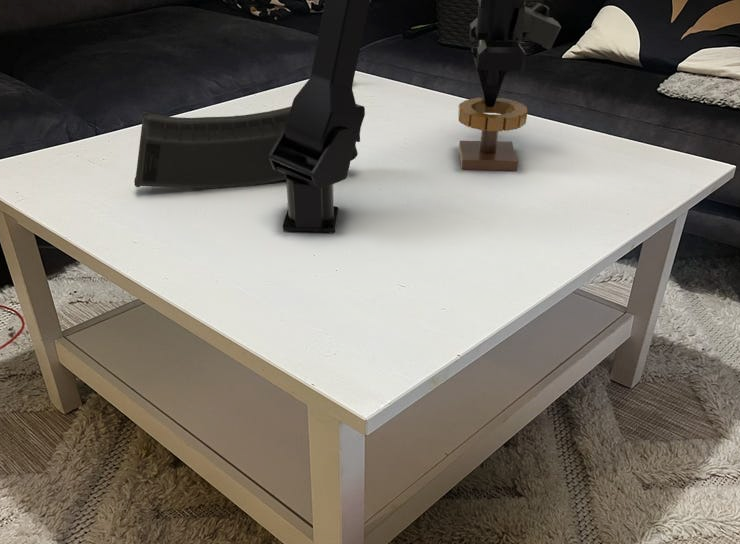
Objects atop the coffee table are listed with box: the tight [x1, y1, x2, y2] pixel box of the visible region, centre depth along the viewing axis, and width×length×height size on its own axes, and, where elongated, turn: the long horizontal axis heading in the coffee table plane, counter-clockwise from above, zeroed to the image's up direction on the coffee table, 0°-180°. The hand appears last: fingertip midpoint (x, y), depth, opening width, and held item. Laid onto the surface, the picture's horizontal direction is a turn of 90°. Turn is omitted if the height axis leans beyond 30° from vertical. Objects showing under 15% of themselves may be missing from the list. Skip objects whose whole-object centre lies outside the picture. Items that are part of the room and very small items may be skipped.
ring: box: [457, 96, 528, 132], centre depth 105 cm, size 10×10×2 cm
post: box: [458, 129, 519, 172], centre depth 108 cm, size 8×8×6 cm
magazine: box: [134, 106, 359, 189], centre depth 99 cm, size 17×3×30 cm
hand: (489, 104), depth 109 cm, fingers closed on ring, 2 cm apart
